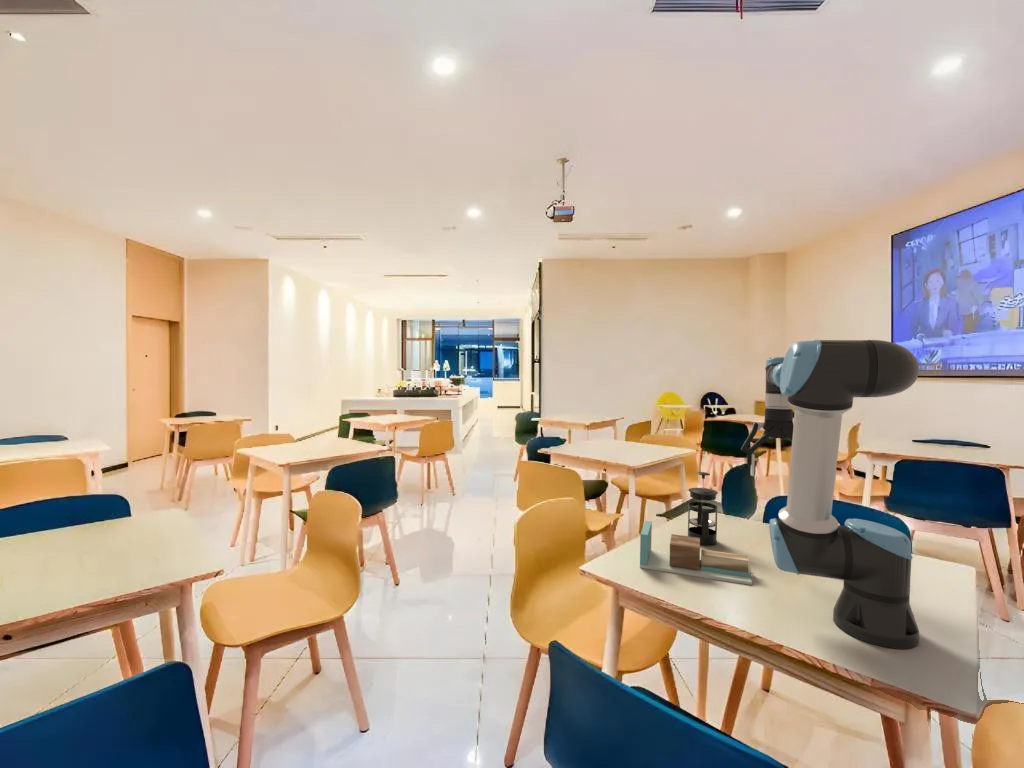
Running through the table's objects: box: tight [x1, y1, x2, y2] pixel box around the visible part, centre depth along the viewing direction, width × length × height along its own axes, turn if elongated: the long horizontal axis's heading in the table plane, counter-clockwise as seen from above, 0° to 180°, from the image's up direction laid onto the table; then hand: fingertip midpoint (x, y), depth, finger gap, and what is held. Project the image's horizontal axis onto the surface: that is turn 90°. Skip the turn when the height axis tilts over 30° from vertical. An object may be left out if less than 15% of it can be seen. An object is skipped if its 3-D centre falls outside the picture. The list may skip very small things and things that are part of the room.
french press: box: [687, 471, 718, 547], centre depth 159 cm, size 12×9×23 cm
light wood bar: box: [700, 548, 749, 573], centre depth 135 cm, size 4×12×4 cm, turn 69°
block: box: [669, 533, 701, 570], centre depth 139 cm, size 9×8×6 cm
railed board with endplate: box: [639, 520, 753, 586], centre depth 138 cm, size 13×29×10 cm, turn 69°
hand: (777, 477), depth 145 cm, fingers open, 13 cm apart
